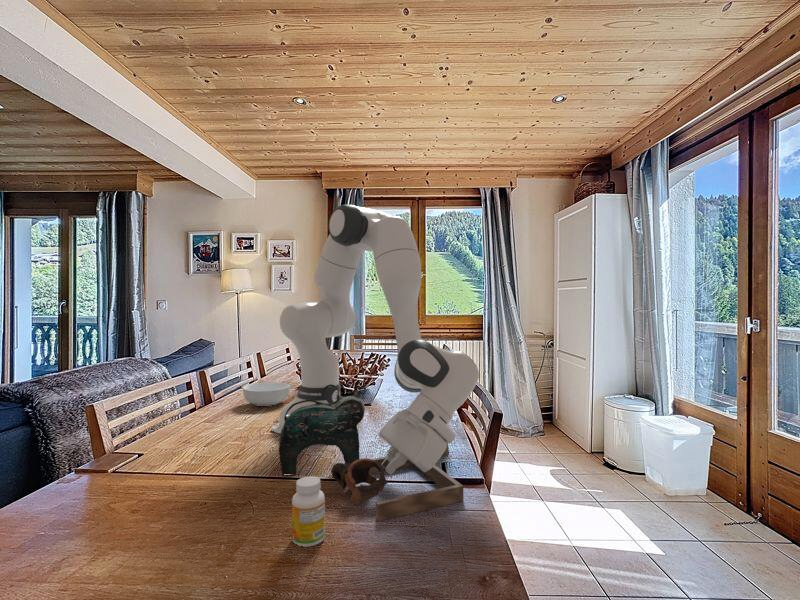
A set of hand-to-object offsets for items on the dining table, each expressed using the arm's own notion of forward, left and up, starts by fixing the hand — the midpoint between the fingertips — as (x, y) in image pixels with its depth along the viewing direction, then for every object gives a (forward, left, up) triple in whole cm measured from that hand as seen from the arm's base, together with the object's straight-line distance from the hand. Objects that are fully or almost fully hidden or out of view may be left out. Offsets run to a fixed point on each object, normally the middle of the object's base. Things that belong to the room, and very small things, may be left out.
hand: (385, 470), depth 90 cm
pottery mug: (-4, -4, -5) cm, 7 cm away
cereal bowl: (-76, +43, -5) cm, 88 cm away
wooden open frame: (+2, +3, -4) cm, 6 cm away
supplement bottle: (-3, -21, -5) cm, 22 cm away
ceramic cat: (-18, +3, -5) cm, 19 cm away
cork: (+1, +26, -5) cm, 26 cm away
